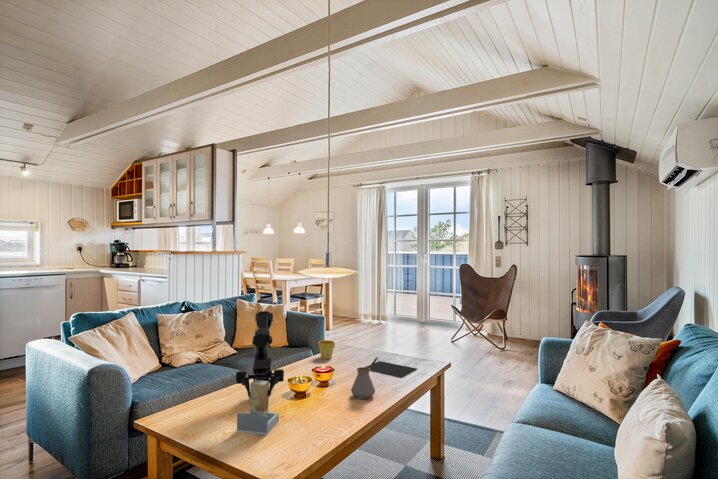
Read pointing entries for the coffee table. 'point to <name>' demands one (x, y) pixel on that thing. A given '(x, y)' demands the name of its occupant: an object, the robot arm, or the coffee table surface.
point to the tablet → (391, 369)
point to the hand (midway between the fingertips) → (259, 397)
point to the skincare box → (259, 397)
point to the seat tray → (256, 423)
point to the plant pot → (326, 348)
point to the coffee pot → (363, 383)
